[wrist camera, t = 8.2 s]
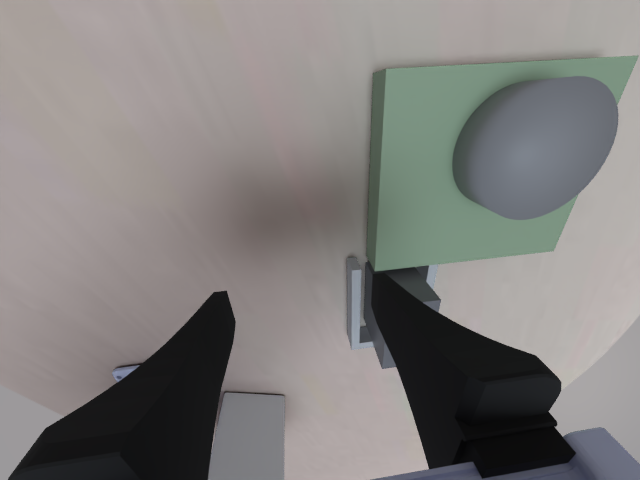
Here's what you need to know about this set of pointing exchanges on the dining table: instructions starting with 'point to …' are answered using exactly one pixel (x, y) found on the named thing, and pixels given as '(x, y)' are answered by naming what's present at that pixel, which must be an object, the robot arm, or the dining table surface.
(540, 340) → the dining table surface
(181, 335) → the robot arm
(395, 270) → the dark gray block
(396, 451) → the dining table surface
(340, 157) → the dining table surface
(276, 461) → the milk carton
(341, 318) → the dining table surface
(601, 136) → the green panel
